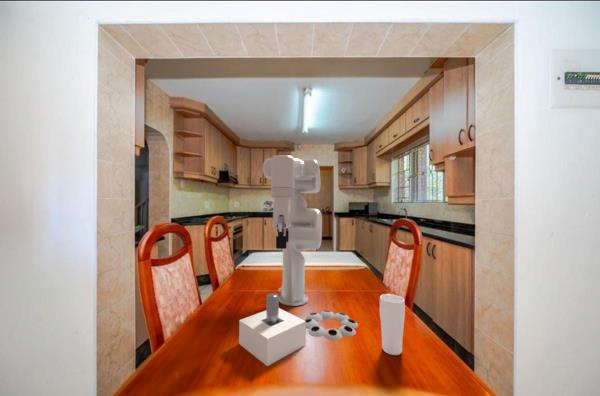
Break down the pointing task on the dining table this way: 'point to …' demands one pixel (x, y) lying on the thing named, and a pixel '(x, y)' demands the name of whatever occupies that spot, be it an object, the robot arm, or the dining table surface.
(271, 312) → the pin
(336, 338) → the round palette
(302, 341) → the socket block
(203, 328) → the dining table surface
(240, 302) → the dining table surface
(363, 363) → the dining table surface
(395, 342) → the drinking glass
